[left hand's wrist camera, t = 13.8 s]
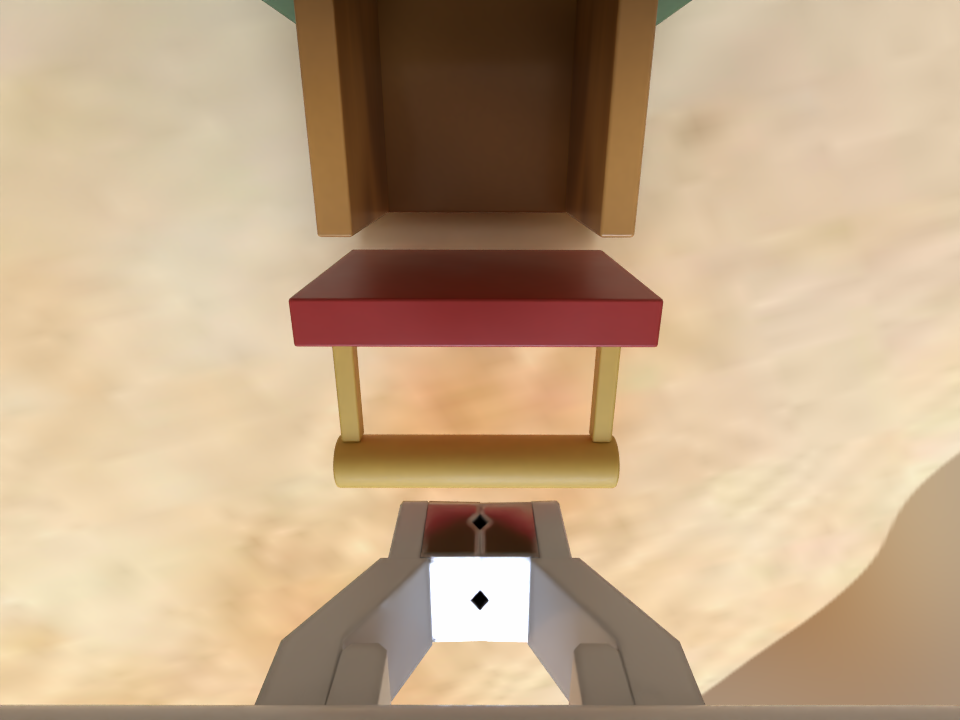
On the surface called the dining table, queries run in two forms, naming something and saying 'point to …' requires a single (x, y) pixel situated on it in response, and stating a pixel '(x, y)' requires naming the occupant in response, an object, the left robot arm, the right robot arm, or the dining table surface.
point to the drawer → (476, 208)
